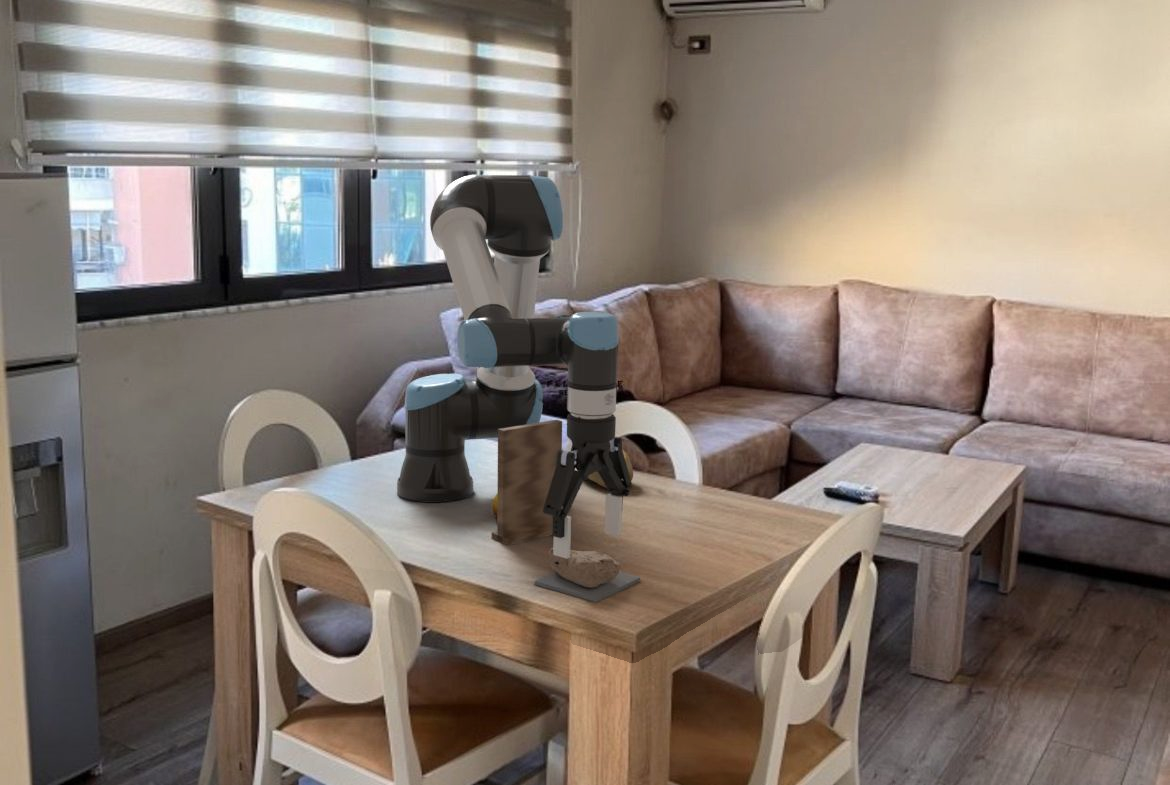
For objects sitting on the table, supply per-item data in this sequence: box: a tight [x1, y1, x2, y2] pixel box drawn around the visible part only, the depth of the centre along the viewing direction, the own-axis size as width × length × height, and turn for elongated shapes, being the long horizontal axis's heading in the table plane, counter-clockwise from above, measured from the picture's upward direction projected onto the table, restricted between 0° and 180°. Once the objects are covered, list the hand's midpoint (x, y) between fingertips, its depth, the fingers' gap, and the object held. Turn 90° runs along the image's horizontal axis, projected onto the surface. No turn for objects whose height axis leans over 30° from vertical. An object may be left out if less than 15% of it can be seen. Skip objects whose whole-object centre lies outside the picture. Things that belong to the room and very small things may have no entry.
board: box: [491, 419, 563, 546], centre depth 207 cm, size 13×5×20 cm, turn 131°
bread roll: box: [587, 449, 634, 490], centre depth 243 cm, size 10×15×8 cm, turn 34°
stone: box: [547, 547, 621, 588], centre depth 186 cm, size 9×11×5 cm
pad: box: [533, 571, 642, 603], centre depth 186 cm, size 12×12×1 cm
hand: (587, 545), depth 185 cm, fingers open, 13 cm apart
